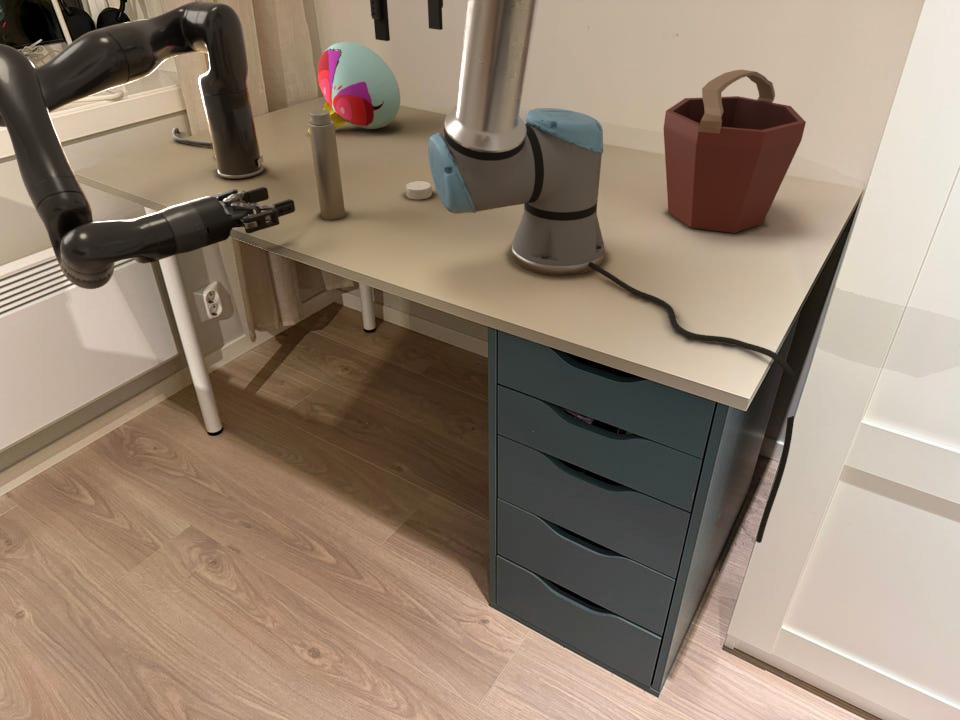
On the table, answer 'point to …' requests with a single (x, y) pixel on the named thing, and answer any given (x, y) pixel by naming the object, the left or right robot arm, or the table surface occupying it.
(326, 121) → the tan tube
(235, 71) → the left robot arm
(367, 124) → the toy
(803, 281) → the table surface
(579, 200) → the right robot arm
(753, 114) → the bucket
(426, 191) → the lid
